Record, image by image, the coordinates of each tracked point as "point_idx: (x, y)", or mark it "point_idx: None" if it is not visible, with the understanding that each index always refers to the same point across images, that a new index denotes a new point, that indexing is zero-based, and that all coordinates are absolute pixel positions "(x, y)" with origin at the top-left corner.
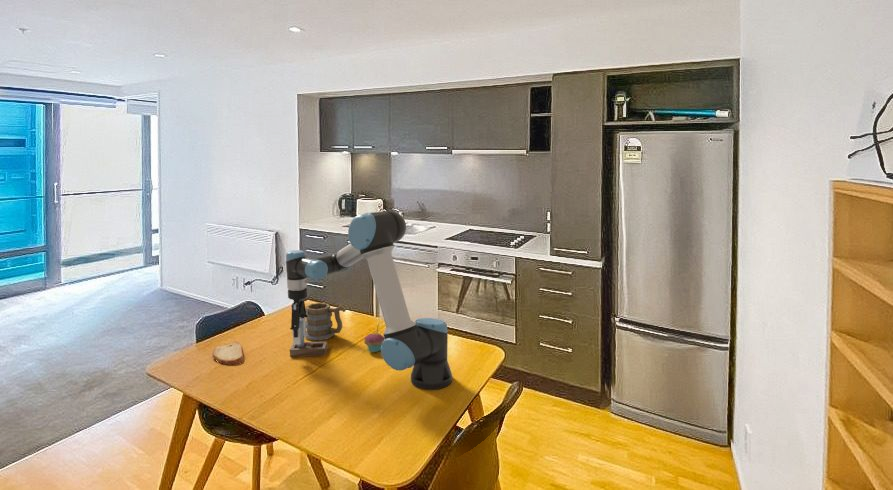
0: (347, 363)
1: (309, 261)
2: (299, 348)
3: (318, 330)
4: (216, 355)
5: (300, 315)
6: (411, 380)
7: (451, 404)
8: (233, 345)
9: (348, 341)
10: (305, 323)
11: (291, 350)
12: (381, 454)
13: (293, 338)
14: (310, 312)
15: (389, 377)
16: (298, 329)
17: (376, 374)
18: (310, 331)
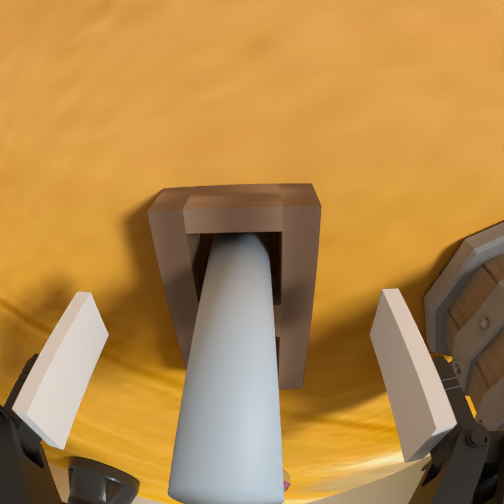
0: (134, 408)
1: None
2: (182, 275)
3: (454, 345)
4: None
5: (459, 459)
6: (80, 462)
7: (50, 460)
8: None
9: (361, 402)
10: (394, 409)
11: (151, 221)
12: None
13: (55, 334)
14: None
15: (89, 446)
16: (46, 437)
17: (92, 437)
18: (487, 289)
